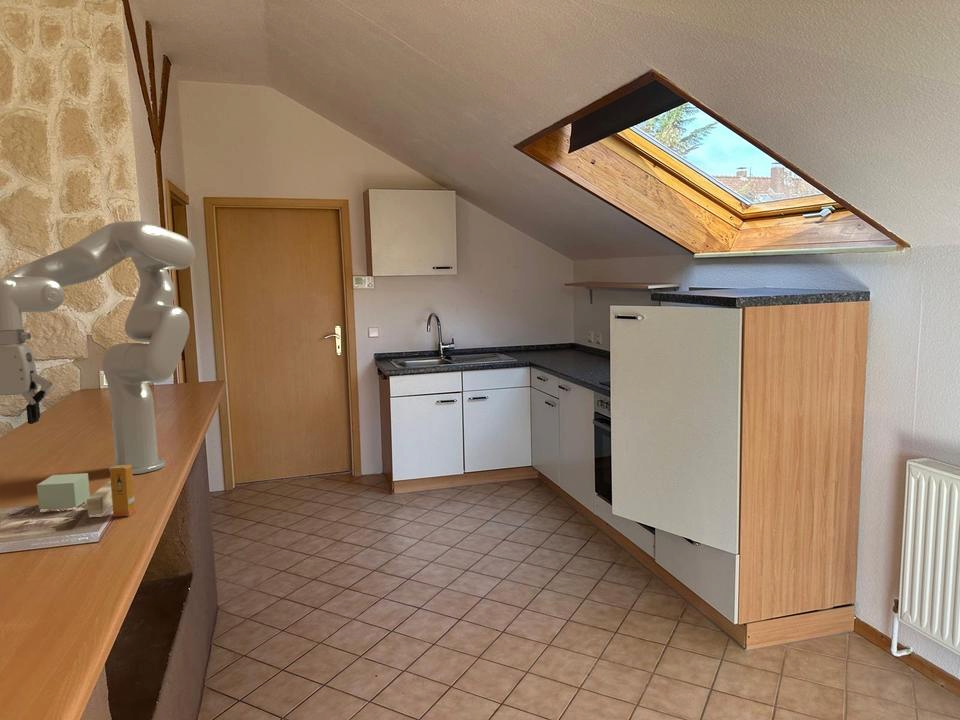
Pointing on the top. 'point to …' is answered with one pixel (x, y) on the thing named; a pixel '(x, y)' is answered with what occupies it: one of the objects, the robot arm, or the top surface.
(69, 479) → the green block
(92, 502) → the birch board
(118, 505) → the supplement box
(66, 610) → the top surface
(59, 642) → the top surface
